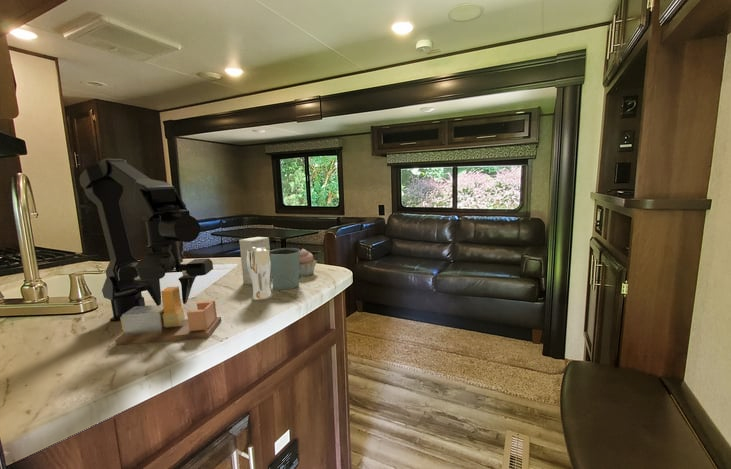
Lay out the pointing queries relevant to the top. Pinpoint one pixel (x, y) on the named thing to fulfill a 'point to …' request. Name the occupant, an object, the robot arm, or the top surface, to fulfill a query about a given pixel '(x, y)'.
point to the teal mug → (285, 268)
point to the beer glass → (260, 272)
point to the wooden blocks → (170, 308)
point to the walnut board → (169, 334)
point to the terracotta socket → (202, 316)
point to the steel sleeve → (143, 320)
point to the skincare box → (244, 246)
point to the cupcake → (306, 263)
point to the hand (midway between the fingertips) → (172, 304)
